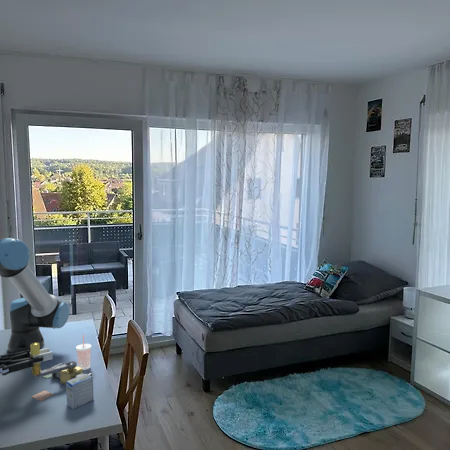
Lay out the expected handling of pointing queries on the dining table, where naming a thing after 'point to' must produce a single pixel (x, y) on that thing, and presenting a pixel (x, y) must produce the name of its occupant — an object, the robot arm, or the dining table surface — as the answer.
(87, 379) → the medicine box
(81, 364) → the beverage cup
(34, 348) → the lever
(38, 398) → the closed pad
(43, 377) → the open pad
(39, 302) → the robot arm
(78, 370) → the valve
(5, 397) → the dining table surface
